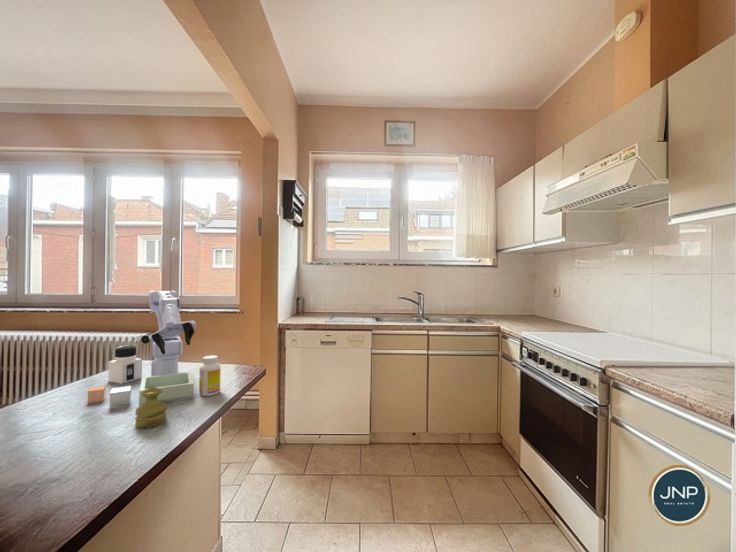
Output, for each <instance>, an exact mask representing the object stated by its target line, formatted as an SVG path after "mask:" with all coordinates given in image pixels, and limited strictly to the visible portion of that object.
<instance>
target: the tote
mask: <svg viewBox="0 0 736 552" xmlns="http://www.w3.org/2000/svg"><path fill="white" fill-rule="evenodd" d="M194 385H195V384H194V379H193V376H192V372H191V371H184V372H183V371H182V372H178V373H175V374H167V375H158V376H144V377H143V376H142V378H141V382H140V387H139V393H138V394H139V396H138V397H139V398H138V401H139V402H138V407H139V406H141V405H142V404H143V403H144V402H145V401H146V398H145V397H144V396H142V395H141V392H143V391H144V390H146V389H148V388H149V387H156V388H160V389H162V393H160V394H159V395H158V397H157V399H158V400H160V401H161V402H163V403H165V404H166V403H172V402H177V401H184V400H191V398H192V399H194V391H195V390H194V389H195V388H194Z"/></svg>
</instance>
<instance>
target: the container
mask: <svg viewBox="0 0 736 552" xmlns="http://www.w3.org/2000/svg"><path fill="white" fill-rule="evenodd" d="M107 370H108V373H107V374H108V376H107V377H108V380H107V381H108V382H109V383H115V384H121V385H123V383H124V384H126V383H130V382H134V381H136V380H140V379H142V377H143V376H142V375H143V359H142V358H139V357H137V347H136V346H134V345H129V344H128V345H121V346H118V347H116V348H115V349H114V359H113V360H109V361H108V369H107Z"/></svg>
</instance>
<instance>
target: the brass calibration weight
mask: <svg viewBox="0 0 736 552" xmlns="http://www.w3.org/2000/svg"><path fill="white" fill-rule="evenodd" d="M160 393H162V389H160V388H156V387H149V388H148V389H146V390H144V391H143V392H141V395H142V396H144V397H145V398H146V401H145V402H144V403H143V404H142V405H141V406H139V405H138V407H137V408H136V409H135V412H134V413H135V416H136V417H135V428H137V429H141V430H142V429H152V428H156V427H159V426H161V425H163V424H164V423H165V422H166V421H167V409H168V406H167V404H166V403H163V402H161V401H160V400H158V399H157V397H158V395H159V394H160Z"/></svg>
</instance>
